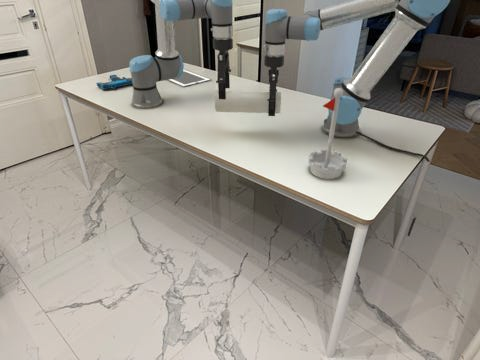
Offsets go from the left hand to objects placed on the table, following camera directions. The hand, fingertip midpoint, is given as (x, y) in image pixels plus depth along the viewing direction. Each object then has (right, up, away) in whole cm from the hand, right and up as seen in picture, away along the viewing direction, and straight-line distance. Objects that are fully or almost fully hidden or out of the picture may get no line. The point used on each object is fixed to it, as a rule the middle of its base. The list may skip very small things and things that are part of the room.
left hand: (224, 93), depth 138 cm
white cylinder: (+10, -7, +4) cm, 12 cm away
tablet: (-30, +30, +79) cm, 90 cm away
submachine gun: (-65, +25, +72) cm, 100 cm away
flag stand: (+37, -32, -17) cm, 52 cm away
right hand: (+19, -7, +3) cm, 21 cm away
